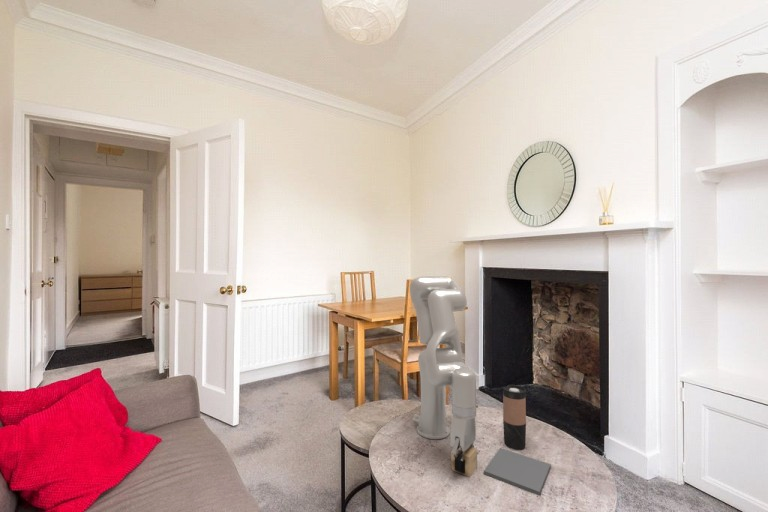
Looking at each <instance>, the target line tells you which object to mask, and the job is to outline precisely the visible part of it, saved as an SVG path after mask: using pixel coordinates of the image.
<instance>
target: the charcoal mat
mask: <svg viewBox="0 0 768 512" xmlns="http://www.w3.org/2000/svg"><path fill="white" fill-rule="evenodd" d="M551 469H552V465H551V464H550V463H548V462H545V461H542V460H539V459H536V458H533V457H530V456H527V455H524V454H520V453H517V452H514V451H512V450H508V449H506V448H502V447H499V449H498V450H497V451H496V453H495V454H494V456H493V457H492V459H491V460H490V462H489V463H488V464H487V465H486V467H485V469H483V475H484V476H485V475H486V476H488V477H490V478H493V479H496V480H499V481H501V482H503V483H505V484H508V485H511V486H513V487H517V488H519V489H522V490H524V491H527V492H530V493H532V494H535V495H537V496H540V495H541V494H542V492H543V491H542V490H543V488H544V486H545V483H546V480H547V478H548V476H549V474H550V470H551Z"/></svg>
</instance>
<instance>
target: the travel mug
mask: <svg viewBox="0 0 768 512" xmlns="http://www.w3.org/2000/svg"><path fill="white" fill-rule="evenodd" d="M502 388H503V389H502V390H503V391H502V392H503V393H502V397H503V400H502V401H503V402H502V405H503V406H502V407H503V408H502V409H503V410H502V411H503V412H502V413H503V414H502V417H503V418H502V422H503V424H502V425H503V442H504V445H505V447H507V448H508V449H511V450H514V451H515V450H516V451H522V450H524V449H525V448H526V440H527V439H526V438H527V436H526V435H527V434H526V433H527V410H526V409H527V407H526V403H527V402H526V401H527V400H526V388H524V387H522V386H521V385H515V384H508V385H506V386H503V387H502Z"/></svg>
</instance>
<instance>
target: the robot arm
mask: <svg viewBox="0 0 768 512" xmlns="http://www.w3.org/2000/svg"><path fill="white" fill-rule="evenodd" d="M409 294H410V295H409V296H410V299H411V302H412V305H413V306H414V310H415V314H416V322H417V329H418V337H419V341H420V343H421V344H422V345H424V346H426V348H425V349H424V350H422V351H420V353H419V354H418V356H417V357H418V358H417V360H418V368H419V374H420V414H417V413H413V417H412V422H415V423H417V426H416V431H417V433H418V435H419V436H421V437H423V438H426V439H430V440H443V439H444V438H445V439H446V438H447V437H448V436H449V435H450V437H449V438H450V441H449V443H450V444H449V446H450V448H452V449H453V450H452V449H451V450H452V454H453V455H454V458H455V471H458V472H460V473H463V474H464V473H465V460H464V454H465V451H466V450H467V449H468V448H469V447H470V446H471V447H474V446H475V445H474V443H475V440H476V436H477V432H476V431H477V430H476V424H477V423H476V417H477V375H476V372H475V371H474V370H472V369H470V368H469V367H468V365H467V364H466V363H464V357H463V349H462V344H461V338H460V337H461V336H460V333H459V329H458V326H457V324H456V318H455V313H454V312H463V311H464V310H465V309H466V307H467V302H468V301H467V296H466V294H465V292H464V291H463V289H462V288H461V287H460V285H459V284H458V283H457V282H456V281H455V280H454V279H453V278H452V277H450V276H443V275H442V276H441V275H440V276H438V275H437V276H426V275H425V276H418V277H415V278H413V279H412V280H411V281H410V284H409ZM440 345H445V347H442V348H441V347H439V346H440ZM446 387H451V414H452V417H451V423H450V427H449V426H448V425H447V421H446V412H447V411H446V410H447V409H446V407H447V406H446V398H447V397H446V396H447V395H446V392H447V391H446ZM459 446H461V448H462V449H461V448H459ZM474 448H475V447H474ZM458 450H459V451H462V453H461V455H460V454H459V453H458ZM455 471H454V472H455ZM458 472H457V473H458ZM460 473H459V474H460ZM463 474H462V475H463Z"/></svg>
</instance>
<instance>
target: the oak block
mask: <svg viewBox="0 0 768 512" xmlns="http://www.w3.org/2000/svg"><path fill="white" fill-rule="evenodd" d="M459 448H461V446H459ZM461 449H462V448H461ZM452 450H453V448H452V449H451V451H450V453H451V454H450V455H451V456H450V457H451V460H450V461H451V465H450V467H451V469H450V470H451V471H454V472H456V473H458V474H461V475H463V476H466V477H468V478H470V477H471V476H472V475H473V473H474V472H475V471H476V469H477V468H478V454H477V453H478V448H476V447H471V446H470V447H469V448H468V449H467V450H466V451H465V454H464V460H465V473H464V474H463V473H460V472H458V471H455V458H454V455H453V454H452ZM458 453H459V454H460V455H461V453H462V451H459V450H458Z"/></svg>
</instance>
